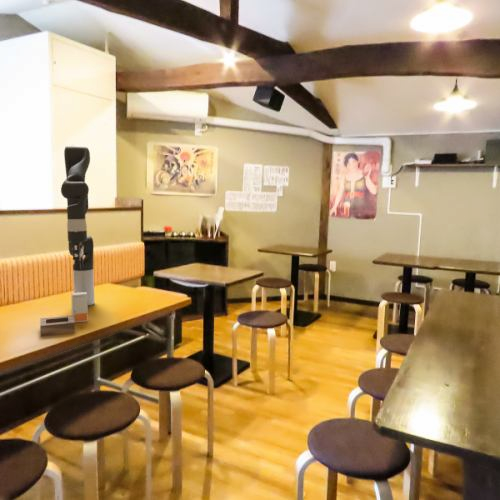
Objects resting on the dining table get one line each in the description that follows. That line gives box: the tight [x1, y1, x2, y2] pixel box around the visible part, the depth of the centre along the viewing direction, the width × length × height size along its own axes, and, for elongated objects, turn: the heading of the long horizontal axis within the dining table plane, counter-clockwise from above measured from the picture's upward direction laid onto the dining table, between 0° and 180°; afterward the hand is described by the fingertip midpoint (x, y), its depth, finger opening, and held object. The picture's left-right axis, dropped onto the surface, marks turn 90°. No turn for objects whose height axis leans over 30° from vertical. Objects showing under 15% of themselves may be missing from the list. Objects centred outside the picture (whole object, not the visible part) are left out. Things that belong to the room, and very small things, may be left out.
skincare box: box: [70, 292, 89, 323], centre depth 184 cm, size 6×4×12 cm
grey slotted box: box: [39, 314, 76, 337], centre depth 171 cm, size 11×12×4 cm
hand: (79, 268), depth 184 cm, fingers open, 8 cm apart
